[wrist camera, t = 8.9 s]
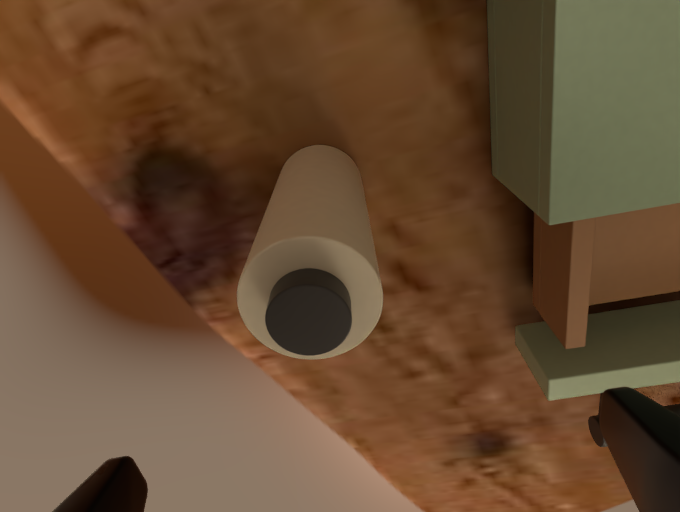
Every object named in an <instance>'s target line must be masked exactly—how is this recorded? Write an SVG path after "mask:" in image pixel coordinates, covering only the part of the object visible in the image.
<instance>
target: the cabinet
mask: <svg viewBox="0 0 680 512" xmlns="http://www.w3.org/2000/svg"><path fill="white" fill-rule="evenodd" d="M487 25H488V57H489V89H490V122H491V154H492V175H493V176H494V177H495V178H496V179H498V180H499V181H500V182H501V183H502V184H503V185H504V186H506V187H507V188H508V189H509V190H510V191H511V192H512V193H513V194H515V195H516V196H517V197H518V198H519V199H520V200H521V201H522V202H524V203H525V204H526V205H527V206H528V207H529V208H530V209H531V210H532V211H534V212H535V213H536V214H537V215H538V216H539V217H540V218H541V219H543V220H544V221H545V222H546V223H547V224H548V225H554V224H560V223H566V222H572V221H577V220H583V219H589V218H595V217H600V216H606V215H612V214H618V213H624V212H629V211H635V210H641V209H647V208H652V207H658V206H664V205H670V204H676V203H680V0H487Z"/></svg>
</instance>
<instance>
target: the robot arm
mask: <svg viewBox="0 0 680 512" xmlns="http://www.w3.org/2000/svg"><path fill="white" fill-rule="evenodd" d="M599 424H600V429H601V432H602V435H603V437H604V439H605V441H606V443H607V445H608V447H609V450H610V452H611V454H612V456H613V458H614V460H615V462H616V464H617V466H618V468H619V470H620V472H621V475H622V477H623V479H624V481H625V483H626V485H627V487H628V489H629V491H630V493H631V495H632V498H633V500H634V502H635V503H636V505H637V508H638V510H639V512H680V416H679V415H677V414H675V413H674V412H672V411H670V410H669V409H667V408H665V407H663V406H662V405H660V404H658V403H657V402H655V401H653V400H651V399H650V398H648V397H646V396H645V395H643V394H641V393H639V392H638V391H636V390H634V389H632V388H629V387H619V388H612V389H607V390H605V391H604V392H603V394H602V401H601V410H600V418H599ZM147 492H148V488H147V483H146V480H145V479H144V477H143V475H142V473H141V472H140V470H139V468H138V467H137V465H136V463H135V462H134V460H133V459H132V458H131V457H129V456H123V457H116V458H111V459H108V460H107V461H105V462H104V463H103V464H102V465H101V466H100V467H99V468H98V469H97V470H96V471H94V473H92V474H91V475H90V476H89V477H88V478H87V479H86V480H85V481H84V482H83V483H82V484H81V485H80V486H79V487H78V488H77V489H76V490H75V491H73V492H72V493H71V494H70V495H69V496H68V497H67V498H66V499H65V500H64V501H63V502H62V503H61V504H60V505H59V506H58V507H57V508H56V509H54V511H52V512H144V508H145V503H146V499H147Z"/></svg>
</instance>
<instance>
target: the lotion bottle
mask: <svg viewBox="0 0 680 512" xmlns="http://www.w3.org/2000/svg"><path fill="white" fill-rule="evenodd" d="M237 303H238V308H239V312H240V315H241V317H242V319H243V321H244V323H245V325H246V326H247V328H248V329H249V331H250V332H251V333H252V334H253V335H254V337H255V338H257V339H258V340H259V341H260V342H261V343H263V344H264V345H265V346H267V347H268V348H270V349H272V350H274V351H276V352H278V353H281V354H283V355H286V356H290V357H294V358H300V359H323V358H329V357H333V356H337V355H340V354H342V353H345V352H347V351H349V350H351V349H353V348H354V347H356V346H357V345H359V344H360V343H361V342H362V341H364V340H365V339H366V338H367V336H368V335H369V334H370V333H371V332H372V330H373V329H374V328H375V326H376V324H377V322H378V320H379V318H380V315H381V312H382V306H383V291H382V284H381V279H380V274H379V269H378V263H377V258H376V253H375V247H374V242H373V237H372V232H371V226H370V221H369V216H368V210H367V205H366V200H365V194H364V189H363V184H362V179H361V175H360V172H359V169H358V167H357V166H356V164H355V162H354V161H353V160H352V159H351V158H350V157H349V156H348V155H347V154H346V153H344V152H343V151H341V150H339V149H337V148H334V147H331V146H327V145H313V146H308V147H305V148H303V149H301V150H299V151H297V152H296V153H294V154H293V155H292V156H291V157H290V158H289V159H288V160H287V161H286V163H285V164H284V166H283V168H282V170H281V173H280V175H279V178H278V181H277V183H276V186H275V188H274V191H273V193H272V196H271V199H270V201H269V204H268V206H267V209H266V212H265V214H264V217H263V219H262V222H261V225H260V227H259V230H258V232H257V235H256V238H255V240H254V243H253V245H252V248H251V251H250V253H249V256H248V258H247V261H246V264H245V266H244V269H243V271H242V274H241V277H240V280H239V283H238V289H237Z"/></svg>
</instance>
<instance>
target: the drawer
mask: <svg viewBox="0 0 680 512" xmlns="http://www.w3.org/2000/svg"><path fill="white" fill-rule="evenodd" d="M677 291H680V203H676V204H670V205H664V206H658V207H652V208H647V209H641V210H635V211H629V212H624V213H618V214H612V215H606V216H600V217H595V218H589V219H583V220H577V221H572V222H566V223H560V224H554V225H548V224H547V223H546V222H545V221H544V220H543V219H541V218H540V217H539V216H538V215H537V214H536V213H535V212H534V253H533V305H534V306H535V308H536V309H537V311H538V312H539V313H540V315H541V316H542V318H543V319H544V321H543V322H537V323H530V324H524V325H518V326H515V344H516V346H517V348H518V350H519V351H520V353H521V355H522V356H523V358H524V360H525V361H526V363H527V365H528V367H529V368H530V370H531V372H532V373H533V375H534V377H535V379H536V380H537V382H538V384H539V385H540V387H541V389H542V391H543V392H544V394H545V396H546V397H547V399H548V400H557V399H563V398H570V397H577V396H584V395H591V394H598V393H601V395H600V404H599V413H598V415H597V416H591V417H589V420H588V424H589V429H590V432H591V435H592V437H593V439H594V441H595V442H596V444H597V445H598V446H600V447H606V446H608V445H607V443H606V441H605V439H604V437H603V435H602V432H601V429H600V424H599V418H600V410H601V401H602V394H603V392H604V391H605V390H607V389H612V388H619V387H629V388H632V389H633V388H640V387H647V386H654V385H661V384H668V383H675V382H680V300H676V301H670V302H664V303H657V304H651V305H645V306H638V307H632V308H626V309H619V310H613V311H607V312H600V313H594V314H588V309H589V305H595V304H602V303H608V302H614V301H620V300H627V299H633V298H639V297H646V296H652V295H658V294H665V293H671V292H677ZM663 407H665V408H667V409H669V410H670V411H672V412H674V413H675V414H677V415H679V416H680V404H675V405H668V406H663Z"/></svg>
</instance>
